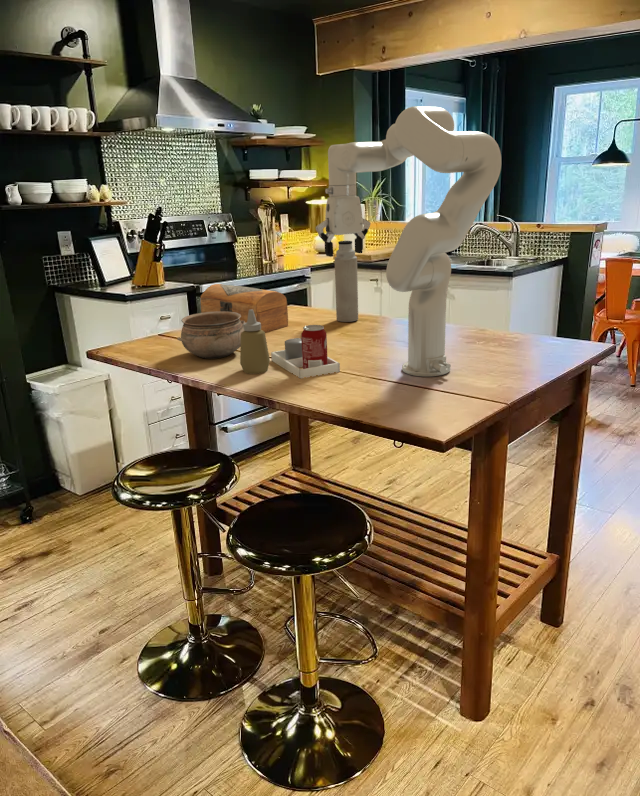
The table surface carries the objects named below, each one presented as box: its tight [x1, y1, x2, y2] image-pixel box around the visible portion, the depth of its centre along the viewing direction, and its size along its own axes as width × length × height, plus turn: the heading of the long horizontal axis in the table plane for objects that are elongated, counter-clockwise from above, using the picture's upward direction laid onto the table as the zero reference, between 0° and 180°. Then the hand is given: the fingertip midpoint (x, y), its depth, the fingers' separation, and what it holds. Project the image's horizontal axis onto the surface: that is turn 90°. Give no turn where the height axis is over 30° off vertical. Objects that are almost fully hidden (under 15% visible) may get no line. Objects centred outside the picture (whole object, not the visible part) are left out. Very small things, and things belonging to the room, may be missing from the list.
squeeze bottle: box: [239, 310, 271, 375], centre depth 170 cm, size 8×8×18 cm
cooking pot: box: [177, 311, 245, 360], centre depth 189 cm, size 25×19×12 cm
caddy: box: [270, 337, 341, 379], centre depth 175 cm, size 20×12×7 cm, turn 25°
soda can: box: [300, 324, 328, 369], centre depth 169 cm, size 7×7×12 cm
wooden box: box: [199, 283, 289, 333], centre depth 227 cm, size 30×16×14 cm, turn 49°
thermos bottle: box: [334, 240, 359, 323], centre depth 226 cm, size 8×8×28 cm
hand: (344, 254), depth 182 cm, fingers open, 9 cm apart
